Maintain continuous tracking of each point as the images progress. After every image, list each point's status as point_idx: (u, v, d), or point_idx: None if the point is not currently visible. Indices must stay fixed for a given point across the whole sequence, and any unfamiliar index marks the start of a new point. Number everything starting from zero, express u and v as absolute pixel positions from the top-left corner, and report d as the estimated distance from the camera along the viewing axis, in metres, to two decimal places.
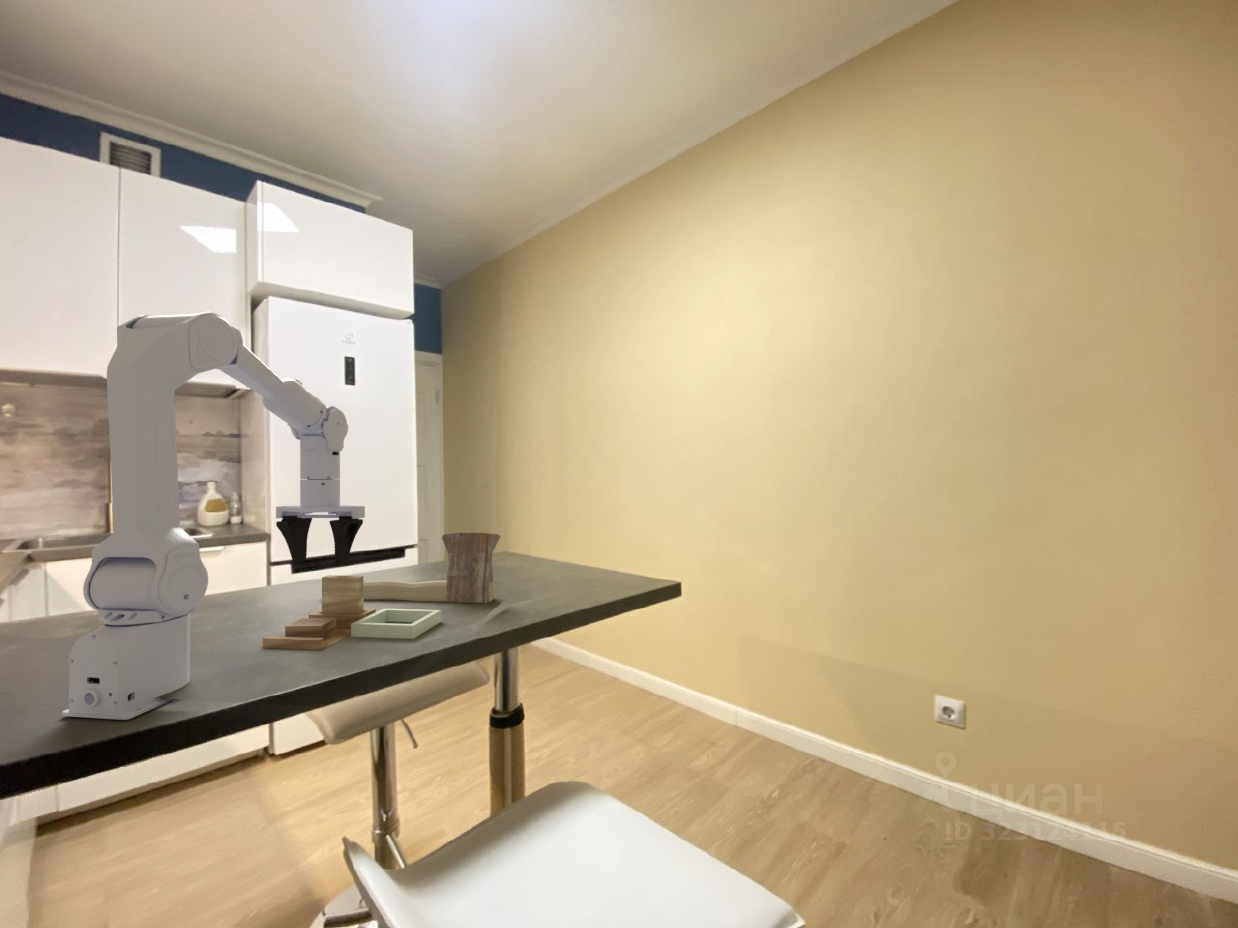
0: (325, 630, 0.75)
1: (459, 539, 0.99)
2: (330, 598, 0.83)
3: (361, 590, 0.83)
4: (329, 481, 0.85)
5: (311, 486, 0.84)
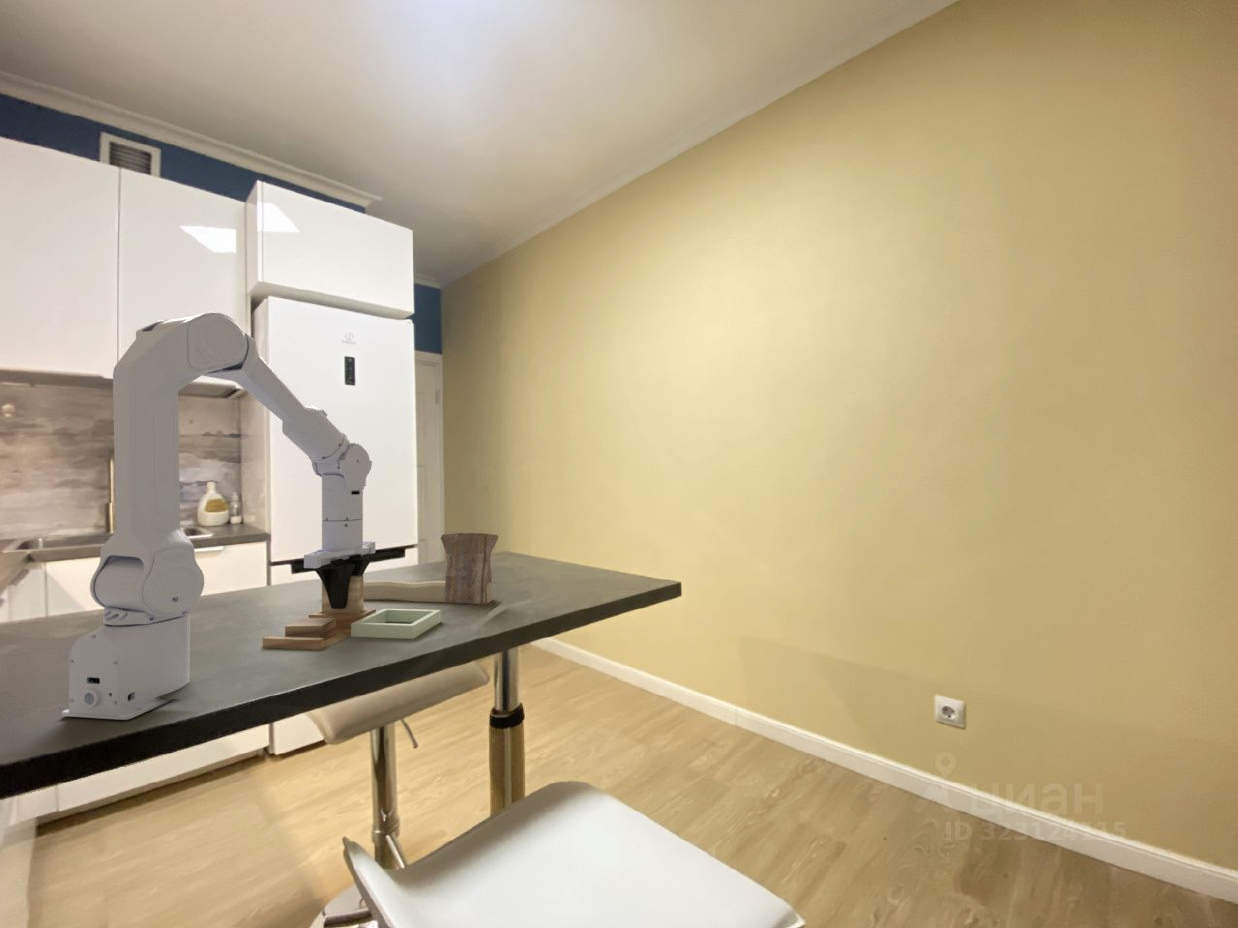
0: (325, 630, 0.75)
1: (457, 539, 0.98)
2: None
3: (361, 590, 0.83)
4: (324, 523, 0.81)
5: None
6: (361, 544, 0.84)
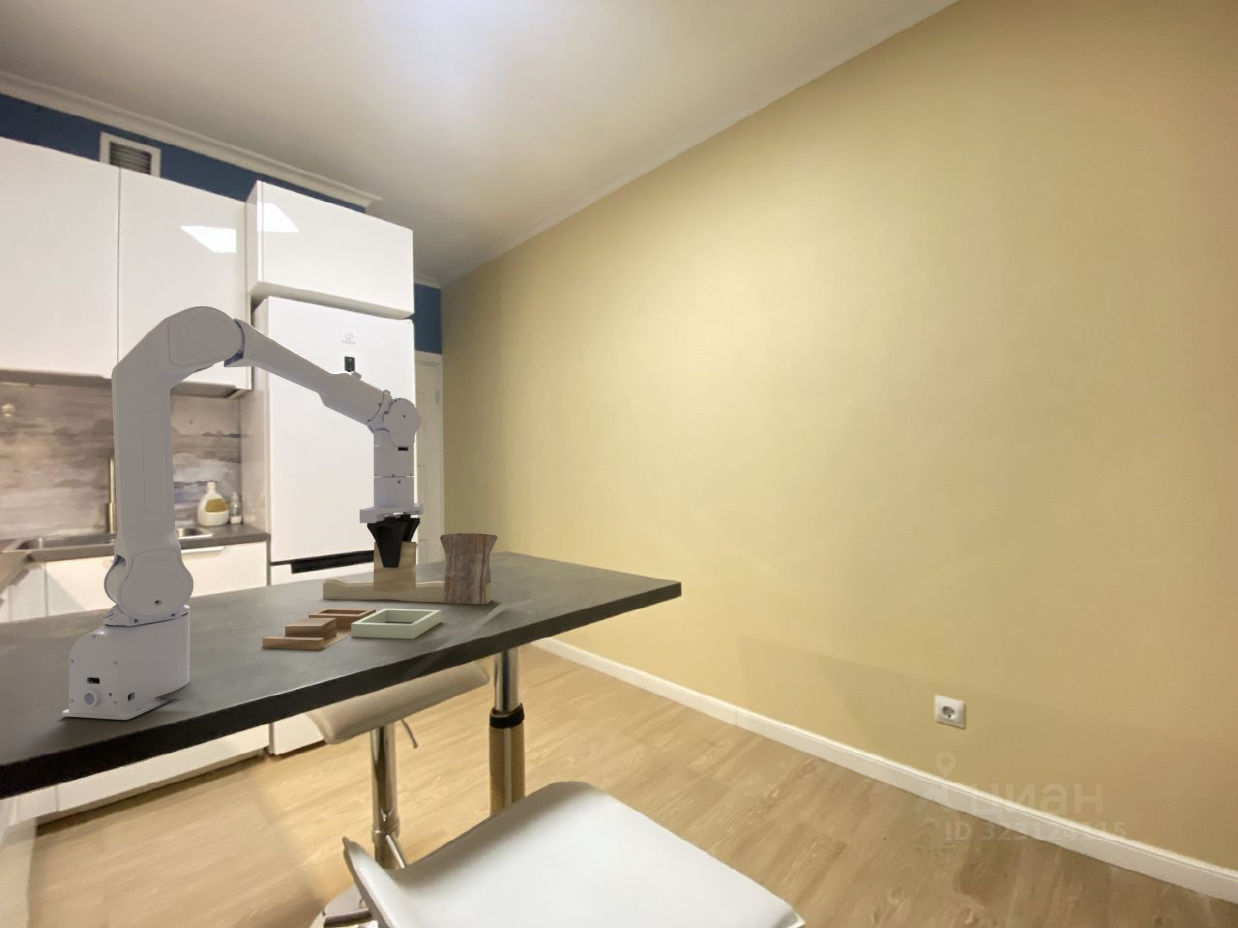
0: (325, 630, 0.75)
1: (457, 540, 0.98)
2: None
3: (414, 556, 0.81)
4: (376, 479, 0.79)
5: None
6: (413, 502, 0.82)
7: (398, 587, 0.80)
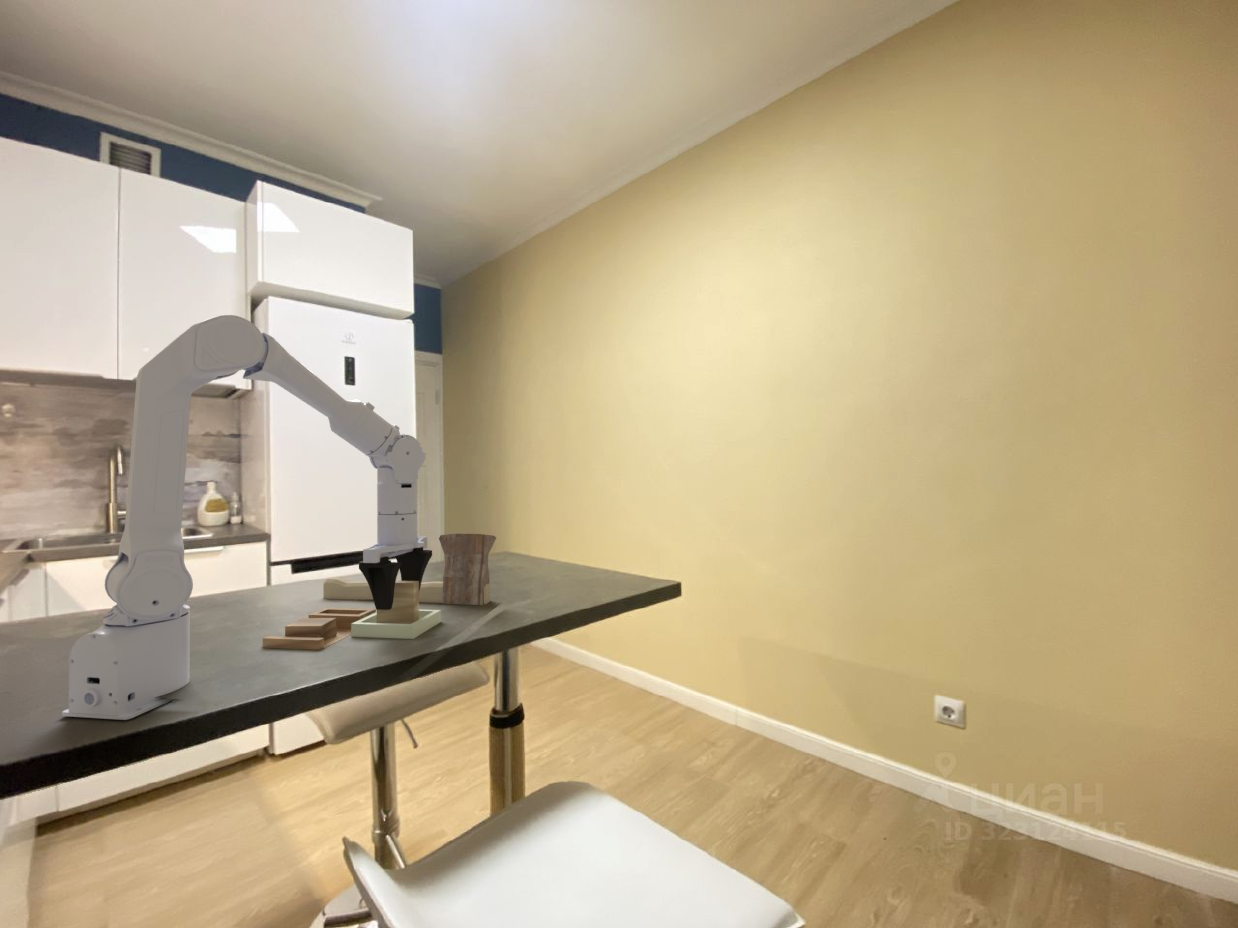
0: (325, 630, 0.75)
1: (455, 540, 0.97)
2: None
3: (417, 595, 0.81)
4: (380, 516, 0.79)
5: None
6: (416, 539, 0.81)
7: None
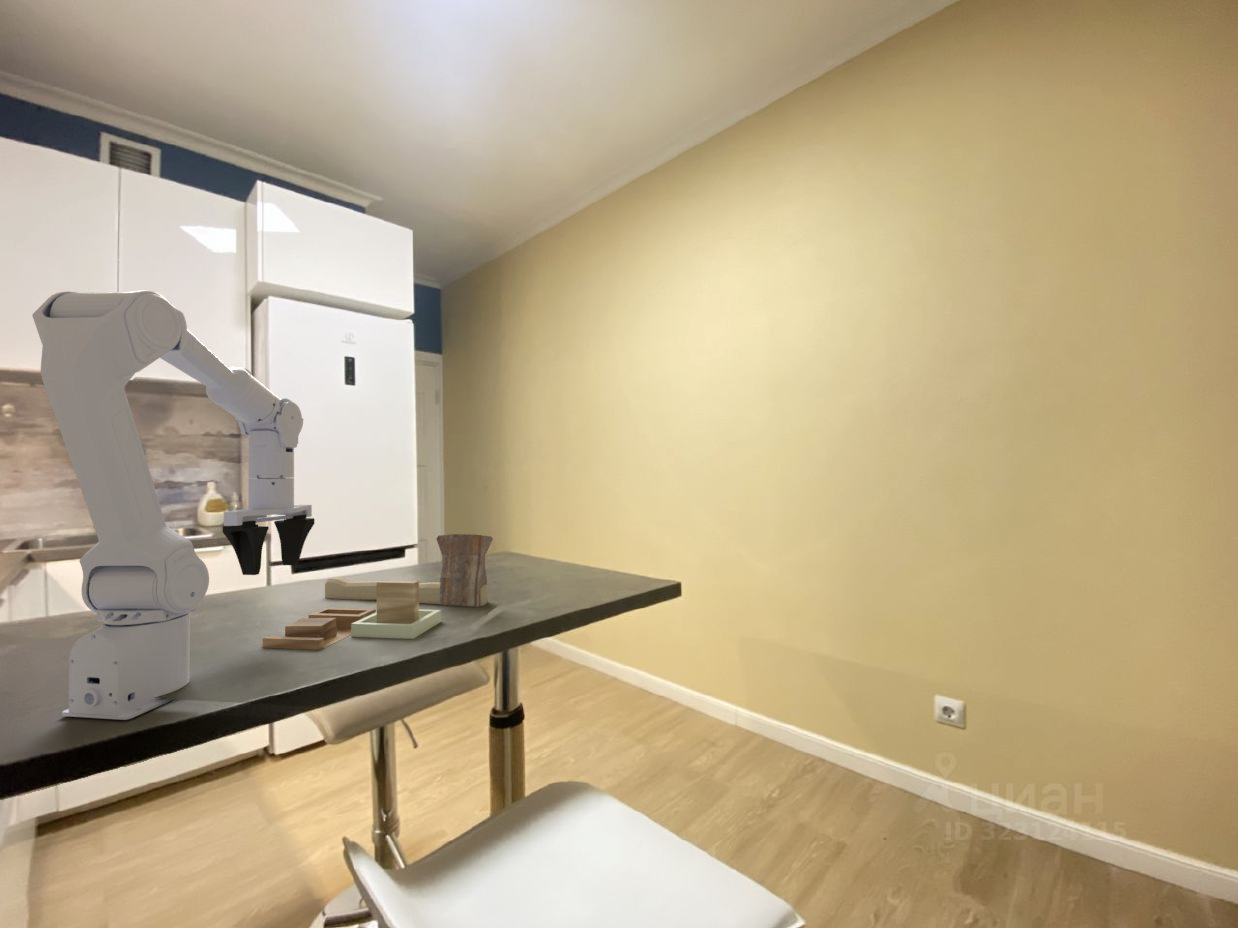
0: (325, 630, 0.75)
1: (453, 541, 0.96)
2: (385, 604, 0.80)
3: (417, 595, 0.81)
4: (250, 481, 0.77)
5: None
6: (291, 504, 0.80)
7: None
